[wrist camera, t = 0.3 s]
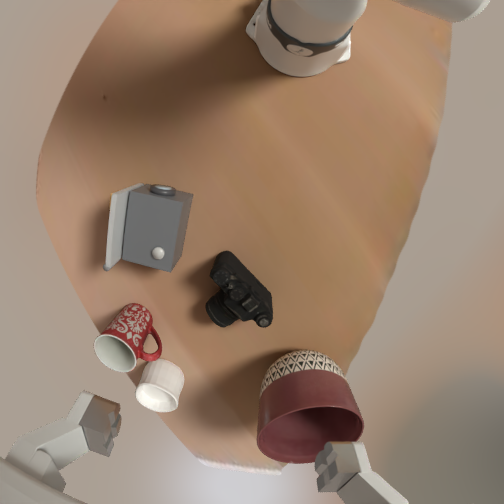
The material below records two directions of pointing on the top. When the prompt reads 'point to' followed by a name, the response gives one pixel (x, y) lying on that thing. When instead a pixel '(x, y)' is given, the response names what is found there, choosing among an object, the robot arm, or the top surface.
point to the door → (117, 225)
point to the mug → (127, 339)
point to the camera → (238, 294)
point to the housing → (156, 226)
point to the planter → (305, 408)
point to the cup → (160, 386)
